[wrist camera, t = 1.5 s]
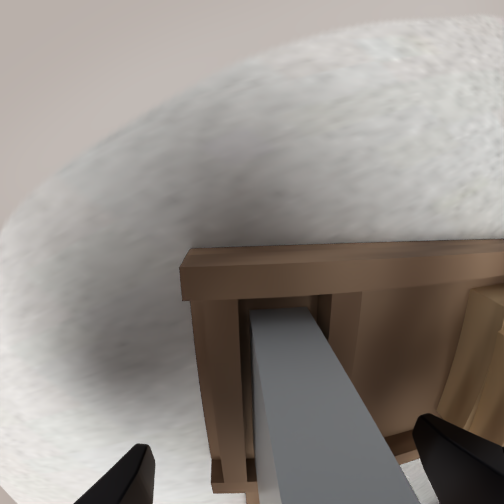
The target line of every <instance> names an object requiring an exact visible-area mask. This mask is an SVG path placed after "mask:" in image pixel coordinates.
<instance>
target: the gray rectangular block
mask: <svg viewBox="0 0 504 504" xmlns="http://www.w3.org/2000/svg"><path fill="white" fill-rule="evenodd" d="M249 314H250V351H251V385H252V419H253V447H254V457H255V466H256V475H257V484H258V493H259V501H260V504H421V503H420V502H419V500H418V498H417V496H416V494H415V493H414V491H413V489H412V487H411V485H410V484H409V482H408V480H407V478H406V476H405V475H404V473H403V471H402V469H401V467H400V466H399V464H398V462H397V460H396V459H395V457H394V455H393V453H392V451H391V450H390V448H389V446H388V444H387V443H386V441H385V439H384V437H383V436H382V434H381V432H380V430H379V429H378V427H377V425H376V423H375V422H374V420H373V418H372V416H371V415H370V413H369V411H368V410H367V408H366V406H365V404H364V403H363V401H362V399H361V397H360V396H359V394H358V392H357V391H356V389H355V387H354V385H353V384H352V382H351V380H350V379H349V377H348V375H347V374H346V372H345V370H344V368H343V367H342V365H341V363H340V362H339V360H338V358H337V357H336V355H335V353H334V352H333V350H332V348H331V346H330V345H329V343H328V341H327V340H326V338H325V336H324V335H323V333H322V331H321V330H320V328H319V326H318V325H317V323H316V321H315V320H314V318H313V316H312V315H311V313H310V311H309V310H308V308H307V307H294V308H278V309H259V310H249Z"/></svg>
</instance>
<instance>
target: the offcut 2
mask: <svg viewBox="0 0 504 504" xmlns="http://www.w3.org/2000/svg"><path fill="white" fill-rule="evenodd" d="M469 432H471V433H473V434H476V435H478V436H480V437H482V438H484V439H487V440H489V441H491V442H494V443H496V444H498V445H501V446H502V447H504V329H502V330H500V331H498V334H497V339H496V344H495V348H494V353H493V357H492V361H491V365H490V369H489V372H488V376H487V379H486V383H485V386H484V390H483V393H482V396H481V399H480V402H479V405H478V408H477V411H476V414H475V416H474V419H473V422H472V425H471V427H470V430H469Z"/></svg>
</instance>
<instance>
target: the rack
mask: <svg viewBox="0 0 504 504" xmlns="http://www.w3.org/2000/svg"><path fill="white" fill-rule="evenodd" d="M179 270H180V281H181V292H182V301H190V305H191V315H192V325H193V334H194V343H195V352H196V360H197V368H198V376H199V383H200V391H201V398H202V404H203V411H204V418H205V424H206V430H207V436H208V442H209V448H210V453H211V459H212V465H211V485H212V490H213V493H250V492H258V484H257V475H256V466H255V457H254V447H253V419H252V385H251V351H250V314H249V310H259V309H278V308H294V307H307V308H308V310H309V311H310V313H311V315H312V316H313V318H314V320H315V321H316V323H317V325H318V326H319V328H320V330H321V331H322V333H323V335H324V336H325V338H326V340H327V341H328V343H329V345H330V346H331V348H332V350H333V352H334V353H335V355H336V357H337V358H338V360H339V362H340V363H341V365H342V367H343V368H344V370H345V372H346V374H347V375H348V377H349V379H350V380H351V382H352V384H353V385H354V387H355V389H356V391H357V392H358V394H359V396H360V397H361V399H362V401H363V403H364V404H365V406H366V408H367V410H368V411H369V413H370V415H371V416H372V418H373V420H374V422H375V423H376V425H377V427H378V429H379V430H380V432H381V434H382V436H383V437H384V439H385V441H386V443H387V444H388V446H389V448H390V450H391V451H392V453H393V455H394V457H395V459H396V460H397V462H398V464H399V465H401V464H404V463H407V462H410V461H413V460H416V459H418V458H420V457H419V454H418V451H417V448H416V445H415V442H414V440H413V437H412V431H413V428H414V426H415V423H416V421H417V418H418V417H419V416H420V415H422V414H426V413H431V414H433V415H435V416H437V417H439V418H441V419H443V418H442V417H441V415H440V414H439V413H438V412H437V411H436V410H437V407H438V405H439V402H440V399H441V397H442V394H443V391H444V388H445V385H446V382H447V379H448V376H449V373H450V370H451V367H452V363H453V360H454V357H455V353H456V350H457V346H458V342H459V338H460V334H461V330H462V326H463V322H464V318H465V313H466V308H467V303H468V298H469V293H470V289H471V288H477V287H484V286H490V285H496V284H501V283H504V239H484V240H444V241H407V242H373V243H340V244H309V245H279V246H250V247H222V248H195V249H190V250H189V252H188V253H187V255H186V257H185V258H184V260H183V262H182V264H181V265H180V267H179ZM443 420H444V419H443Z"/></svg>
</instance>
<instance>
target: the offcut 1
mask: <svg viewBox="0 0 504 504" xmlns="http://www.w3.org/2000/svg"><path fill="white" fill-rule="evenodd" d="M502 329H504V283H501V284H496V285H490V286H484V287H477V288H471V289H470V293H469V298H468V303H467V308H466V313H465V318H464V322H463V326H462V330H461V334H460V338H459V342H458V346H457V350H456V353H455V357H454V360H453V363H452V367H451V370H450V373H449V376H448V379H447V382H446V385H445V388H444V391H443V394H442V397H441V399H440V402H439V405H438V407H437V410H436V411H437V412H438V413H439V414H440V415H441V417H442V418H443V419H444V420H445V421H447V422H450V423H452V424H454V425H456V426H458V427H460V428H462V429H465V430H467V431H469V430H470V427H471V425H472V422H473V419H474V416H475V414H476V411H477V408H478V405H479V402H480V399H481V396H482V393H483V390H484V386H485V383H486V379H487V376H488V372H489V369H490V365H491V361H492V357H493V353H494V348H495V344H496V339H497V334H498V331H500V330H502Z"/></svg>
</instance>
